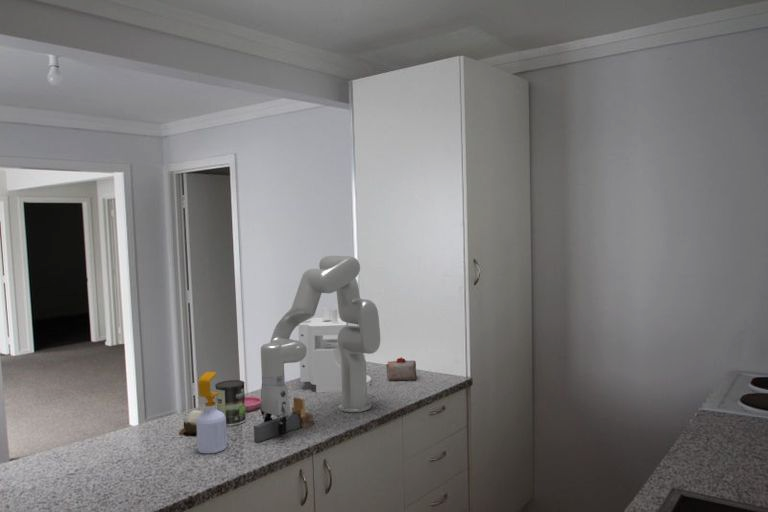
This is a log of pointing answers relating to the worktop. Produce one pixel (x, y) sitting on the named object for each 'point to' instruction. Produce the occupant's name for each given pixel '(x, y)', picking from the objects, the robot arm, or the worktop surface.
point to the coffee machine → (322, 351)
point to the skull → (190, 423)
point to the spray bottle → (210, 420)
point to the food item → (401, 370)
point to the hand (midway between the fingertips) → (275, 432)
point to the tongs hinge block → (307, 420)
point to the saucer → (252, 403)
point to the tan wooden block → (299, 406)
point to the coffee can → (231, 401)
